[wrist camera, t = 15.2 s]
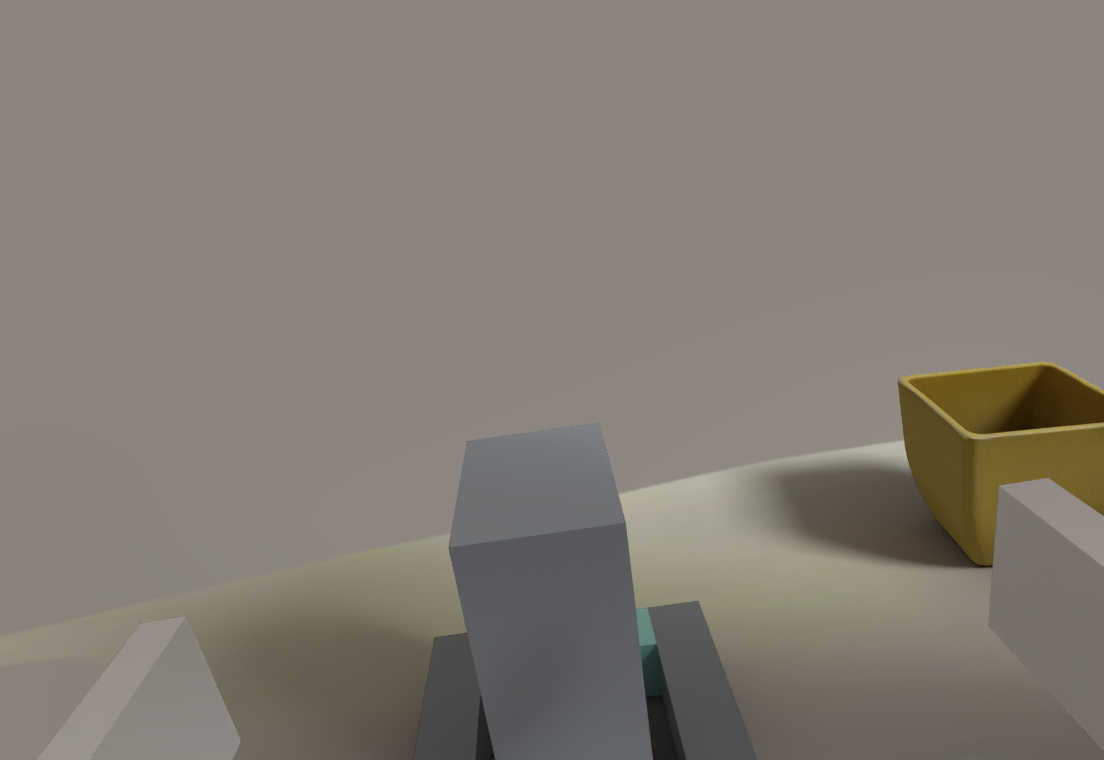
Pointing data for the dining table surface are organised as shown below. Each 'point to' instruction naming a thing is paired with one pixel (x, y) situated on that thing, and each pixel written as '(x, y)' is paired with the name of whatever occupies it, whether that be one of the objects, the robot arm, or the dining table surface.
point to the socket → (668, 669)
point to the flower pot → (1000, 442)
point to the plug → (550, 597)
